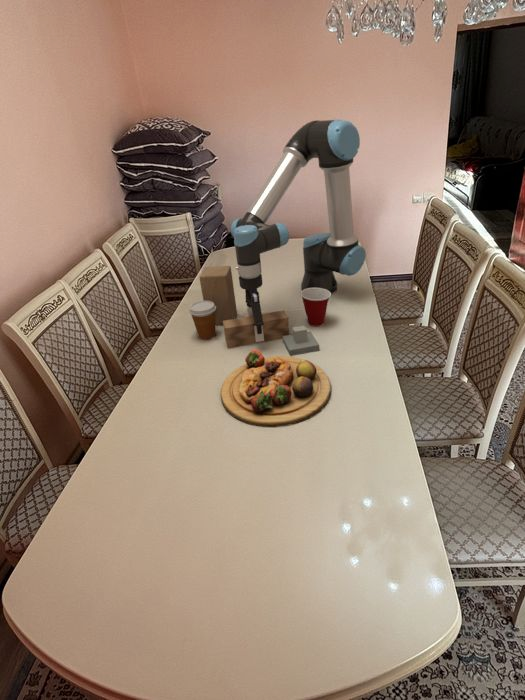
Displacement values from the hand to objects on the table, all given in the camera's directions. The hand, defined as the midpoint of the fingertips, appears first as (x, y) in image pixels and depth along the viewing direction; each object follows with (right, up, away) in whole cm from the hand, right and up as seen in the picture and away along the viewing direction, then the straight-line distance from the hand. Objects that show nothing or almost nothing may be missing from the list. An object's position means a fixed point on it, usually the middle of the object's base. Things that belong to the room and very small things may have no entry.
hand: (256, 332), depth 157 cm
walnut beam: (0, -2, +2) cm, 3 cm away
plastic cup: (+22, +4, +8) cm, 24 cm away
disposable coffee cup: (-18, -1, +7) cm, 19 cm away
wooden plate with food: (+6, -19, -26) cm, 32 cm away
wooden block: (-13, +5, +17) cm, 23 cm away
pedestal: (+15, -5, -6) cm, 17 cm away
